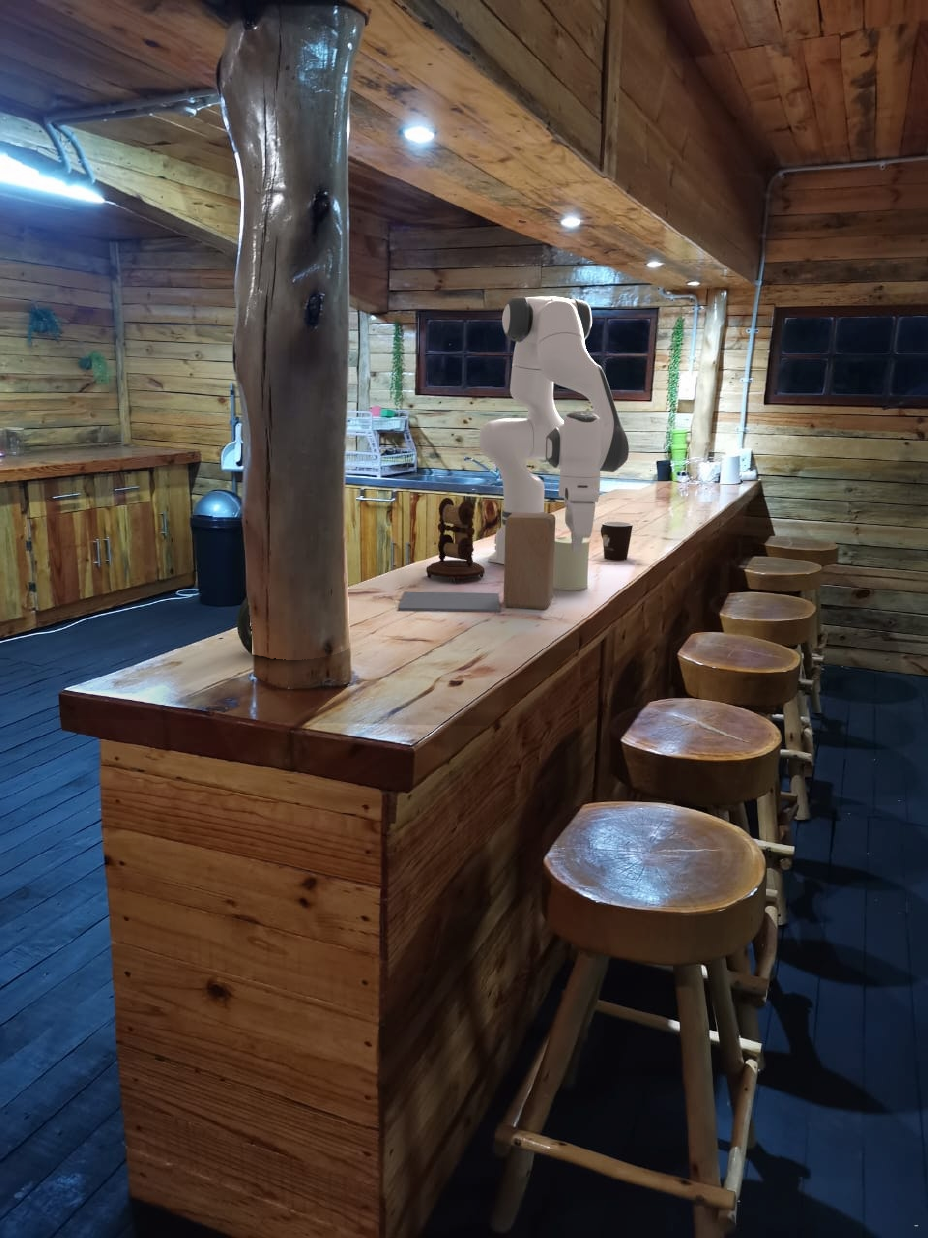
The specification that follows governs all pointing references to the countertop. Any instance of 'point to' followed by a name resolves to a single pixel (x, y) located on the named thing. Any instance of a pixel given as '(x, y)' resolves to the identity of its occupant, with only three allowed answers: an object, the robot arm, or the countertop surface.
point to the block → (529, 560)
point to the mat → (449, 601)
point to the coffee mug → (616, 540)
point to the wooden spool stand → (456, 543)
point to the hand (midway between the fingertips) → (576, 551)
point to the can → (570, 565)
